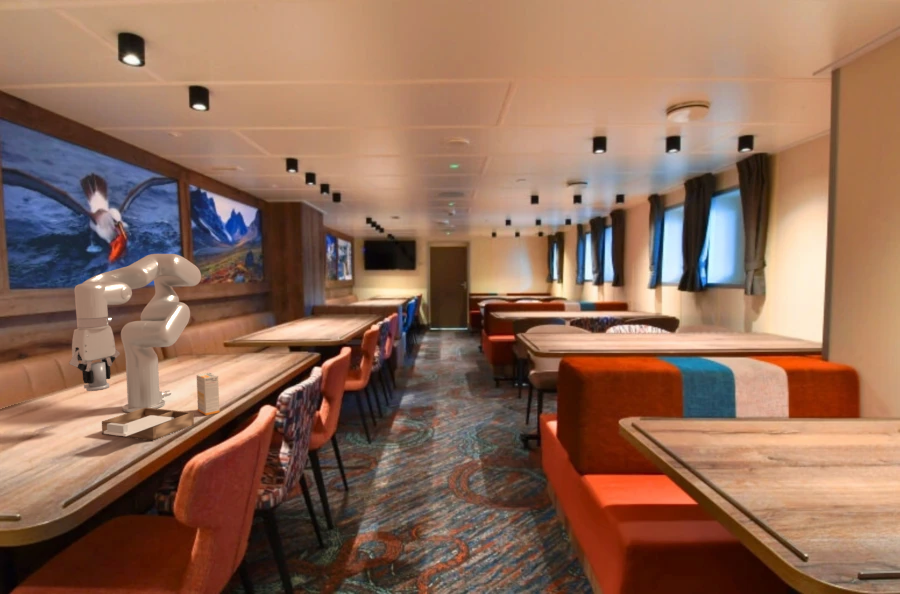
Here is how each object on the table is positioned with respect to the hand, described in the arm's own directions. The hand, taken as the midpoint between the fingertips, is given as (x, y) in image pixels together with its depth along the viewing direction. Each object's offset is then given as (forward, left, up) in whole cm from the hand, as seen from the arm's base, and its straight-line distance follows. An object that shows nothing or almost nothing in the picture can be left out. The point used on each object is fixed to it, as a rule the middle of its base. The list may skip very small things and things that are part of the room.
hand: (97, 380), depth 136 cm
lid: (+5, +22, -11) cm, 25 cm away
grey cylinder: (0, 0, -3) cm, 3 cm away
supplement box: (-22, +20, -16) cm, 34 cm away
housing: (-3, +16, -15) cm, 23 cm away
